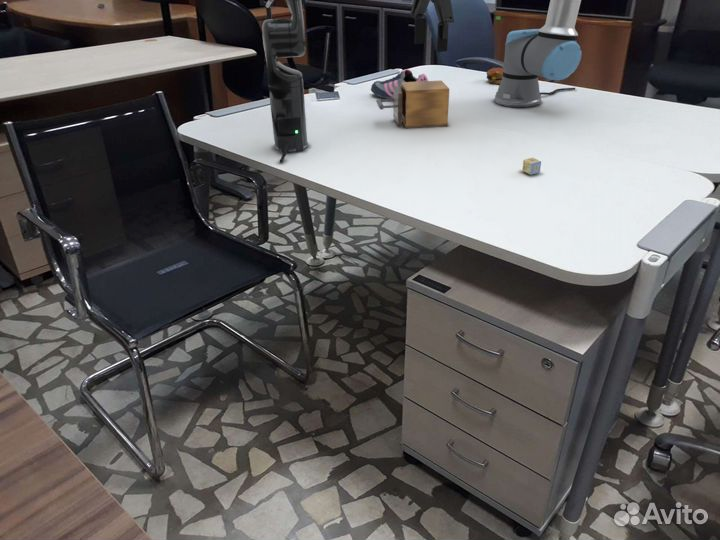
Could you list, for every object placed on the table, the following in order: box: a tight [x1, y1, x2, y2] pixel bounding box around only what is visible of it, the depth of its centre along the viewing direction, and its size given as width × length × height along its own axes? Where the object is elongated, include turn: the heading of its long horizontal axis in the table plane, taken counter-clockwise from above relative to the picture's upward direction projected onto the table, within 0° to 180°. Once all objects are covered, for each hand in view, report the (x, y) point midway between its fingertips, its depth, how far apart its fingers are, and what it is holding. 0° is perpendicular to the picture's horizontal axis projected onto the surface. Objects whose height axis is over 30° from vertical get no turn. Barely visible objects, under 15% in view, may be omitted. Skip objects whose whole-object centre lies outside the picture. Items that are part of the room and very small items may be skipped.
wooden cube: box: [401, 80, 450, 129], centre depth 175 cm, size 13×11×11 cm
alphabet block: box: [522, 157, 542, 175], centre depth 139 cm, size 3×3×3 cm
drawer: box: [375, 86, 406, 126], centre depth 174 cm, size 17×10×9 cm, turn 96°
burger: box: [486, 67, 504, 85], centre depth 219 cm, size 10×9×5 cm
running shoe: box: [370, 69, 429, 100], centre depth 198 cm, size 9×26×11 cm, turn 44°
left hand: (284, 19), depth 182 cm, fingers open, 8 cm apart
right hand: (430, 47), depth 157 cm, fingers open, 13 cm apart
